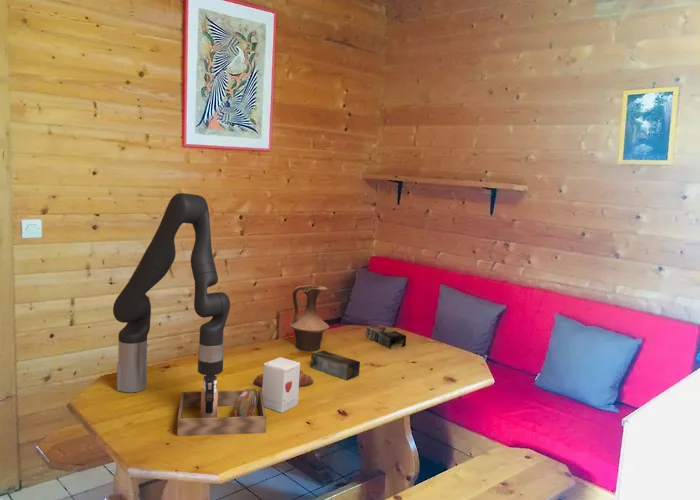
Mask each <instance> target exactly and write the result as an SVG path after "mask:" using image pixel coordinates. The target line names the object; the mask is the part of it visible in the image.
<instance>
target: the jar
mask: <svg viewBox="0 0 700 500" xmlns="http://www.w3.org/2000/svg"><path fill="white" fill-rule="evenodd" d="M201 391H202V392H201V407H200V418H217V417H218V407H219V406H218V391H219V390H218V389H217V387H216V390H215V394H214V402H213V413H205V407H206V402H205V394H204V387H203V388H202V390H201ZM207 398H212V395H207ZM217 406H218V407H217Z"/></svg>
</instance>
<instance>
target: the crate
mask: <svg viewBox="0 0 700 500" xmlns="http://www.w3.org/2000/svg"><path fill="white" fill-rule="evenodd" d="M245 390H246V389H245ZM245 390H217V391H218V406H217V408H218V407H234V403H235V401H236V399H237V398H238V397H239V396H240V395H241V394H242V393H243V392H244V391H245ZM255 390H256V392H257V406H258V409H259V416H258V415H256V416H255V415H252V416H250V417H233V416H223V417H218V416H217V418H201V417H189V418H188V417H187V418H185V417H184V411H185V409H184V408H201V392H202V390H200V391H181V395H180V401H179V408H178V409H179V410H178V416H177V434H176V435H177V436H176V437H186V436H216V435H219V436H220V435H240V434H241V435H242V434H245V435H246V434H266V433H267V413H266V407H265V406H264V401H263V395H262V389H255ZM183 417H184V418H183Z"/></svg>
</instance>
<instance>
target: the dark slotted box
mask: <svg viewBox="0 0 700 500" xmlns="http://www.w3.org/2000/svg"><path fill="white" fill-rule="evenodd" d="M365 332H366V333H365V338H367V339H368V340H369V341H372V340H373V342H374V341H375V342H374V343H376V342H377V343H376V344H378V343H379V344H378V345H380V344H381V346H382V345H383V346H382V347H384V346H385V347H384V348H386V347H387V348H386V349H388V348H389V349H388V350H391V349H392V348H391V347H392V343H393V342H394V343H397V344H398V343H399V344H398V345H401V347H405V346H406V344H407V343H406V342H407V335H405V334H403V333H402V332H401V333H400V332H398V331H396V330H393V329H392V328H389V327H387V326H385V325H383V324H378V325H372V326H371V325H370V326H366V331H365Z"/></svg>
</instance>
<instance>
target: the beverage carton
mask: <svg viewBox="0 0 700 500" xmlns="http://www.w3.org/2000/svg"><path fill="white" fill-rule="evenodd" d="M310 356H311V357H310V368H311V369H314V370H316V371H318V370H319V372H321V371H322V373H324V372H325V374H328V375H330V376H333V375H334V376H333V377H336V376H337V378H339V379H342V378H343V380H345V381H349V380H351V378H352V379H354V377H355V378H357V377H356V376H358V377H360V366H361V363H360V361H359V360H355V359H352V358H349V357H346V356H343V355H339V354H336V353H332V352H329V351H326V350H320V351H314V352H313V353H311V355H310ZM348 379H349V380H348Z"/></svg>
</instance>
